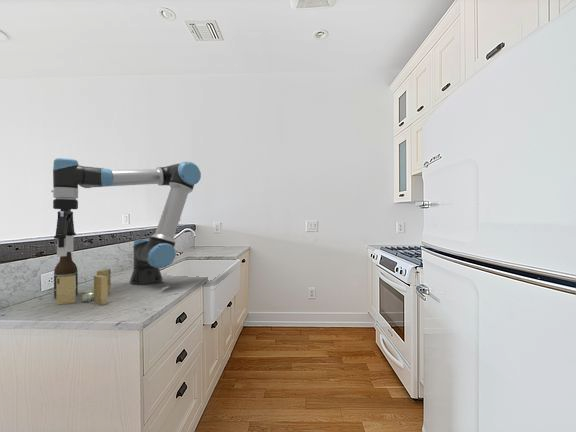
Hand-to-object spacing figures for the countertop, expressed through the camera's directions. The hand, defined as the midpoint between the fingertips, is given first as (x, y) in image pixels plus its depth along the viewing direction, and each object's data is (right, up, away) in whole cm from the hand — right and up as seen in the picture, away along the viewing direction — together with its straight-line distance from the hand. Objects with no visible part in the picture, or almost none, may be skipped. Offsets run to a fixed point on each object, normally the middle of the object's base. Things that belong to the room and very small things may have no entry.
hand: (65, 254), depth 109 cm
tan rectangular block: (0, -19, 0) cm, 19 cm away
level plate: (+7, -20, +4) cm, 22 cm away
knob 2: (+7, -19, +12) cm, 23 cm away
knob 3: (+14, -19, 0) cm, 23 cm away
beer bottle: (-7, -20, +9) cm, 23 cm away
